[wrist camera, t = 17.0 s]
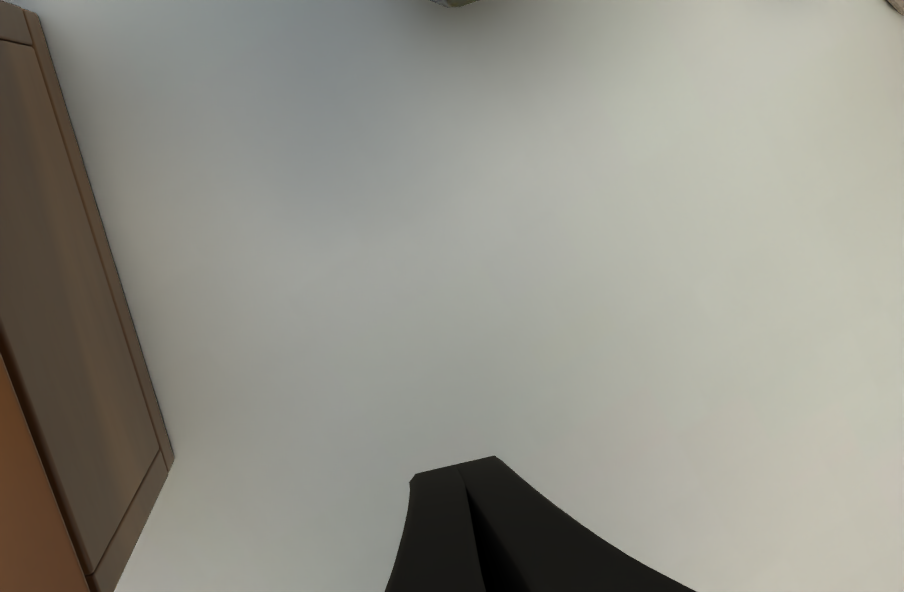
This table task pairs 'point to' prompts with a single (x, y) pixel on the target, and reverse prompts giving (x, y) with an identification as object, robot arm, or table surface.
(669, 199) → the table surface
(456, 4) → the cucumber
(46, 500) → the lid
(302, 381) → the table surface
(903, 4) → the mug
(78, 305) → the box
